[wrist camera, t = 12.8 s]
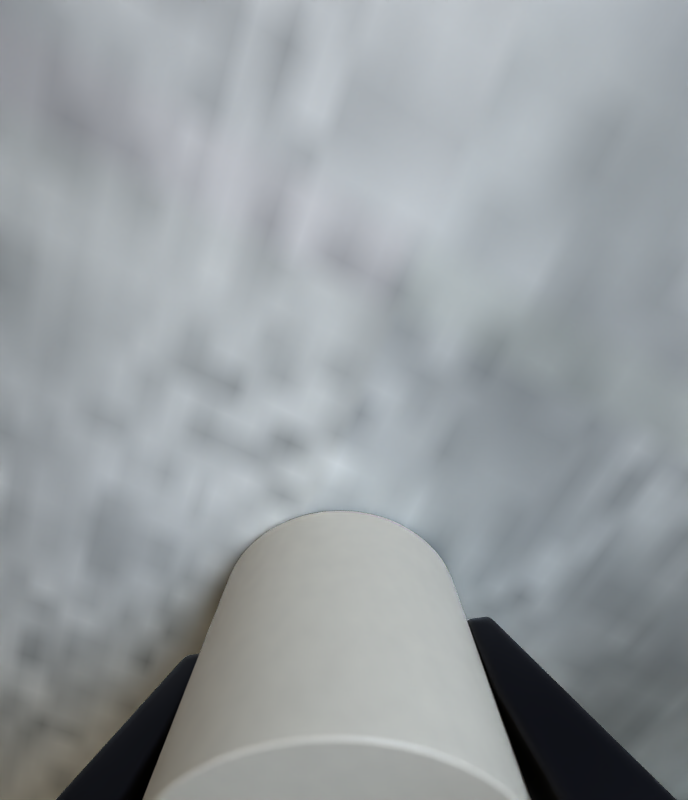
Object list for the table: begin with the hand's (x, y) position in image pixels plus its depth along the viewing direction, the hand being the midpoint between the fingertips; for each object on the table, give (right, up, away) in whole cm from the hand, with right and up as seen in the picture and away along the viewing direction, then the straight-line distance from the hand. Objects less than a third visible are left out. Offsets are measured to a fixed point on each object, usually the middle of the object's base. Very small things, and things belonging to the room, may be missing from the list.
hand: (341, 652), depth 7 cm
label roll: (0, 0, +1) cm, 1 cm away
